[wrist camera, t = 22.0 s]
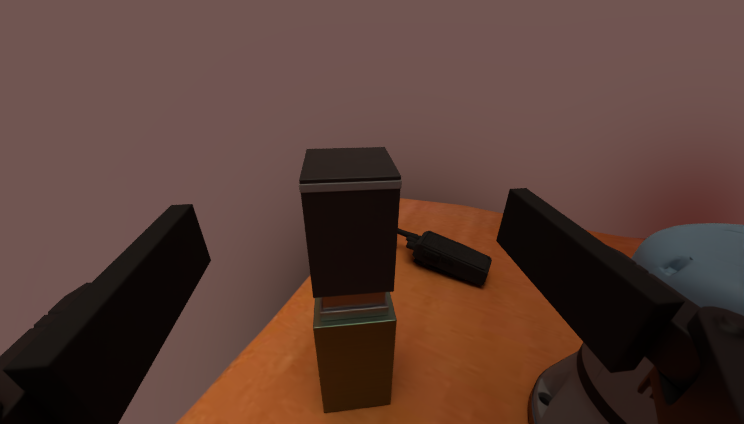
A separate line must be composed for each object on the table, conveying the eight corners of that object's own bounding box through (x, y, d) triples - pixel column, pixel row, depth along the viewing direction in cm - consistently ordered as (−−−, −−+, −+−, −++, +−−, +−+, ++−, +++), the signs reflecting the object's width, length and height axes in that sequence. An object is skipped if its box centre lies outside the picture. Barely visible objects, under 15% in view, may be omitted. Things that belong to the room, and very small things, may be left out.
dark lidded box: (382, 245, 29) (385, 146, 24) (394, 292, 23) (402, 176, 18) (316, 249, 28) (305, 148, 23) (312, 299, 23) (298, 179, 18)
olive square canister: (380, 346, 37) (384, 243, 29) (390, 404, 31) (398, 294, 23) (325, 352, 36) (314, 248, 28) (324, 413, 30) (309, 301, 22)
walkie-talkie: (483, 288, 43) (366, 240, 51) (479, 290, 49) (375, 247, 56) (496, 250, 44) (380, 208, 52) (492, 257, 50) (388, 218, 57)
